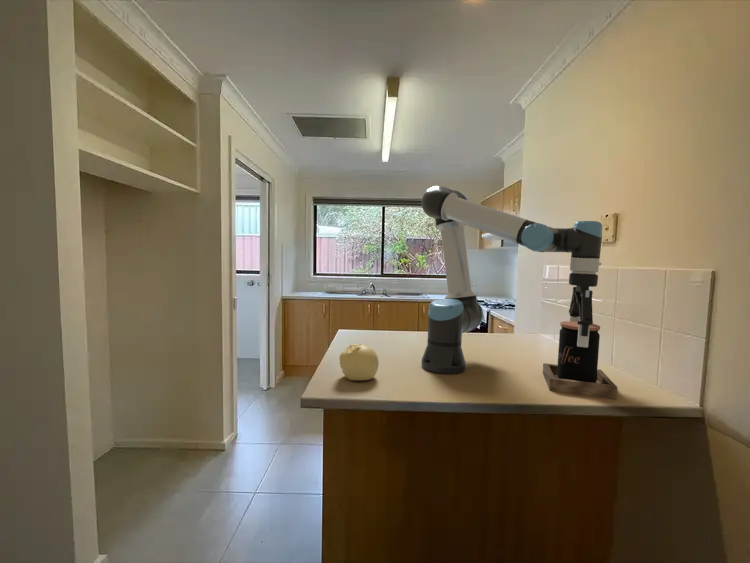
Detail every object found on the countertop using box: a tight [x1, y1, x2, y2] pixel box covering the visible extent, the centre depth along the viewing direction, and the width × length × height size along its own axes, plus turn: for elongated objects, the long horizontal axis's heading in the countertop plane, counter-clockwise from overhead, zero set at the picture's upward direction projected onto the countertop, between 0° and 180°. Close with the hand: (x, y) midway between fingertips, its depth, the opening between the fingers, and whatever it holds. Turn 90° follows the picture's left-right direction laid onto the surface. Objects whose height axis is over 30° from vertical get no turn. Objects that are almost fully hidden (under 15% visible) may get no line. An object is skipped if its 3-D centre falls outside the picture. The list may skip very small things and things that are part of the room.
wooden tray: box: [542, 362, 618, 400], centre depth 111 cm, size 17×17×4 cm
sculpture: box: [339, 343, 379, 381], centre depth 111 cm, size 11×12×11 cm
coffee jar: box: [557, 320, 601, 383], centre depth 110 cm, size 11×11×18 cm
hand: (577, 341), depth 110 cm, fingers open, 13 cm apart
